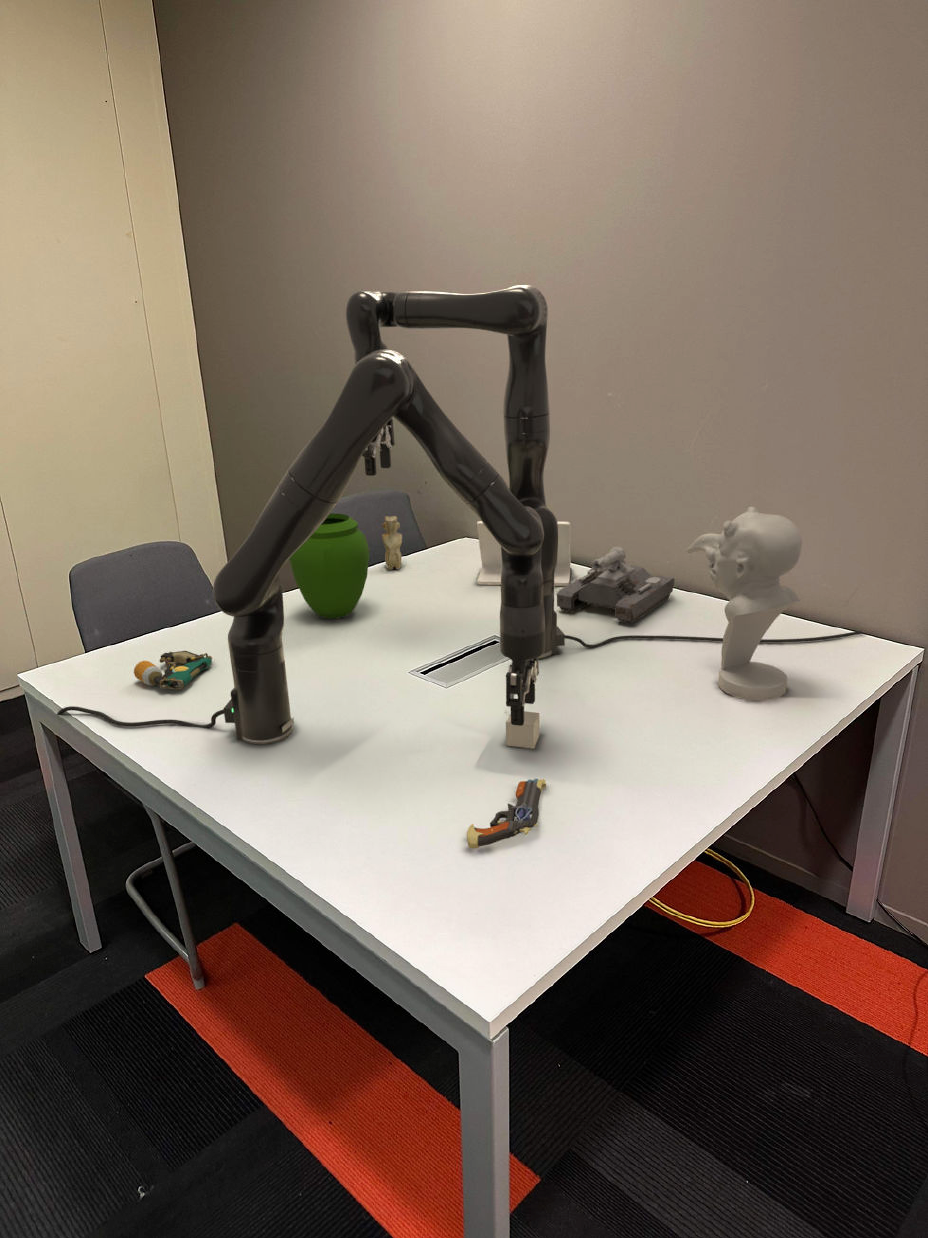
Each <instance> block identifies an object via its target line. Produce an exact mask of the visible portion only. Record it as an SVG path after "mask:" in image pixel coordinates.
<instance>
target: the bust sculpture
mask: <svg viewBox="0 0 928 1238" xmlns="http://www.w3.org/2000/svg"><path fill="white" fill-rule="evenodd" d="M802 547H803V546H802V535H801V532H800V530H799V529H798V527H797V526H796V525H795V523H794V522H792V521H791V520H790V519H788V518H786V517H785V516H783V515H778V514H773V513H772V514H771V513H770V514H769V513H761V512H759V511H758V509H757V508H756V507H755V506H749V507H747V510H746V511H745V512H744V513H741V514H740V515H738V516H737V517H735V518H734V519H733V520H726V521H724V523H723V524H722V532H721V533H720V534H718V533H715V532H713V533H712V532H711V533H704V534H701V535H699V536H698V537H697V538H696V539H694V541H693V543H692V544H690V545H689V547H687V548H686V553H689V554H691V553H695V552H700V551H702V552H705V553H706V557H707V560H708V562H709V563H710V564H708V573H709V575H710V579H711V580H712V582H713V583H714V586H715V588H716V589H717V591H720V593H722V594H723V595H724V596H725V597H727V599H728V602H727V603H726V604H725V606H724V614H725V618H726V620H727V622H728V623H727V625H726V628H725V630H724V634H723V637H722V638H723V641H722V645H721V651H720V654H721V663H720V668H719V671H718V680H717V683H718V684H717V685H718V687H719V688H720V690H722V691H723V692H724V693H725V694H728V695H730V696H732V697H735V698H739V699H742V700H749V701H770V700H771V701H772V700H776V699H778V698H779V699H780V698H781V697H782V696H784V695H785V694H786V692H787V685H788V676H787V674H786V673H785V672H784V671H783V670H782V669H780V668H778V667H776V666H774V665H771V664H767V663H764V662H759V661H758V662H757V661H752V658H753V655H754V653H755V652H756V650H757V648H758V646H759V644H760V643H759V642H760V641H761V639H763V637H764V636H765V634H767V632H768V630H769V628H770V627H771V626H772V624H773V623H774V622H775V621H776V619H777V618H778V617H779V616H780V615H781V614H782V613H783V612H785V611H786V610H787V609H788V608H789V607H791V606H792V605H794V604H795V603H797V602H800V601H801V599H800V596H799V595H798V594H797V593H796V591H795V590H794V589H793V588H792V587H790V586H787V585H781V583H780V582H781V578H780V577H781V576H783V575H786V574H788V573H789V572H790V571H791V570H792V569H793V568H795V567H796V565H797V564H798V562H799V559H800V557H801V552H802Z"/></svg>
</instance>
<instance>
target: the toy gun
mask: <svg viewBox="0 0 928 1238" xmlns="http://www.w3.org/2000/svg"><path fill="white" fill-rule="evenodd" d="M544 788H545V789H546V788H547V781H546V779H544V778H541V779H539V778H533V779H531V778H529V779H527V780H523V781H522V780H521V781H519V782H518V783H517V787H516V789H515V798H516V800H517V802H516V804H515V805H513V804H512V803H507V810H501V811H497V812H496V813H495V816H494V818H493V819H492V820H491V821H490V822H489V827H485V828H479V827H475V825H474V824H473V823H472V824H469V827H468V828H467V830H466V841H467V847H468V849H471V850H472V849H474V850H475V849H478V848H481V847H484V846H489V845H492V844H495V843H498V842H500V841H503V840H506V839H511V838H513V837H516V836H518V835H520V834H522V833H523V834H524V835H525V836H528V834H529V832H530V831H532V828H534V827H538V821H539V817H540V809H539V803H540V800H541V794H542V791H543V789H544ZM500 819H505V820H504V821H500Z"/></svg>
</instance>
